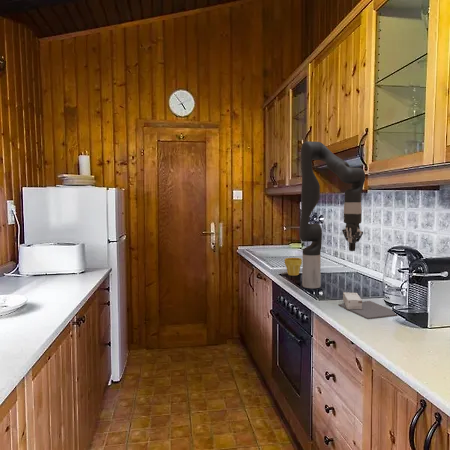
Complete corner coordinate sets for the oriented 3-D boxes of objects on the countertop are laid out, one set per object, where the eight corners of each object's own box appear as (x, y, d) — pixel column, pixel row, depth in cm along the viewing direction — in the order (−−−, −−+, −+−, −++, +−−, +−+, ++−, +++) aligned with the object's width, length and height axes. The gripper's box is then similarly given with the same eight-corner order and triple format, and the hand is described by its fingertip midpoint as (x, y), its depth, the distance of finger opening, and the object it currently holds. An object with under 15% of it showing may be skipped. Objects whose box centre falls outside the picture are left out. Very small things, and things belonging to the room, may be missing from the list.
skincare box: (343, 301, 170) (346, 310, 158) (343, 291, 169) (346, 299, 157) (357, 301, 168) (362, 310, 157) (357, 291, 168) (362, 300, 156)
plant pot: (281, 274, 233) (281, 259, 232) (290, 272, 240) (290, 256, 240) (296, 277, 226) (296, 260, 225) (305, 274, 233) (305, 258, 233)
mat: (338, 305, 166) (338, 304, 166) (370, 302, 170) (370, 300, 170) (367, 319, 146) (367, 317, 146) (402, 315, 151) (402, 313, 151)
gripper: (337, 212, 176) (336, 249, 177) (354, 213, 163) (353, 253, 164) (351, 211, 178) (350, 248, 179) (369, 213, 165) (368, 252, 166)
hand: (352, 250), depth 172 cm, fingers closed
